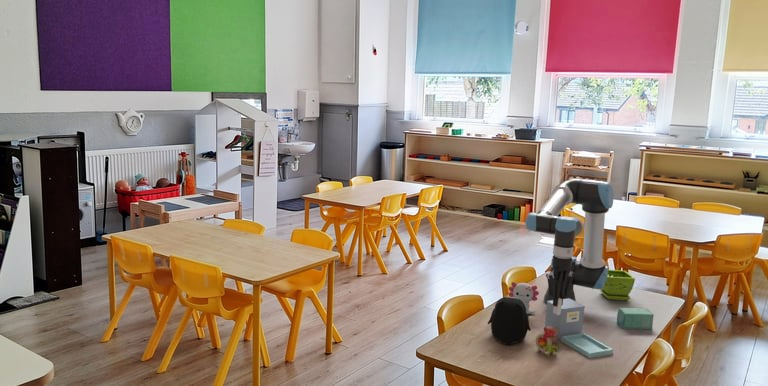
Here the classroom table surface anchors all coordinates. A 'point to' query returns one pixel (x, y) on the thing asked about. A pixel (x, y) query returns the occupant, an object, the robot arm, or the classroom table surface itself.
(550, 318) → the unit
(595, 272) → the robot arm
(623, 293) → the flower pot
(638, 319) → the box
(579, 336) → the tray
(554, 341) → the walnut dowel
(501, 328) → the penguin
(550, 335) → the bird rattle
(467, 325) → the classroom table surface
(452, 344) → the classroom table surface
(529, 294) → the toy
